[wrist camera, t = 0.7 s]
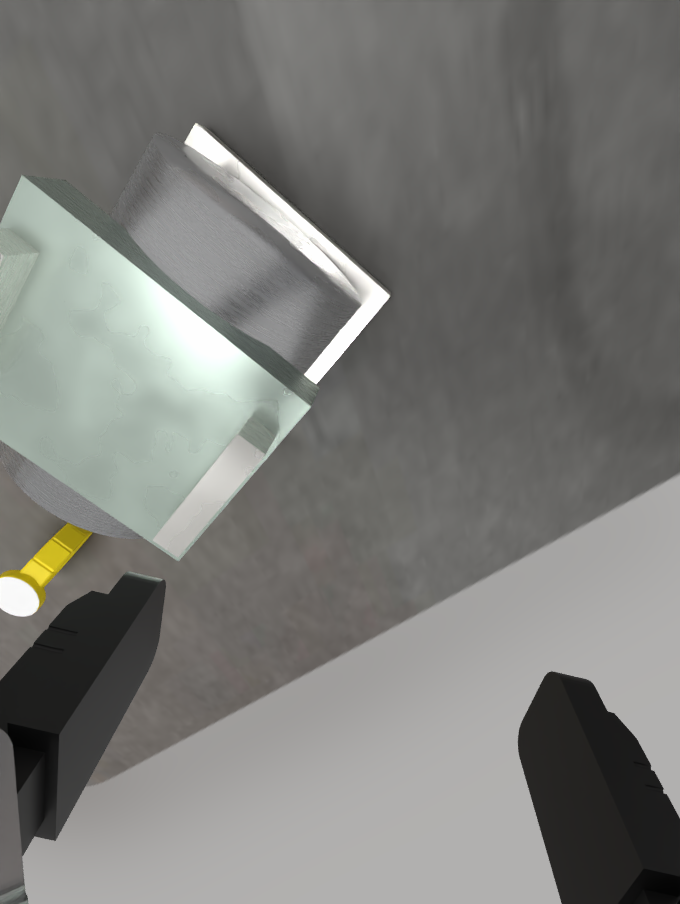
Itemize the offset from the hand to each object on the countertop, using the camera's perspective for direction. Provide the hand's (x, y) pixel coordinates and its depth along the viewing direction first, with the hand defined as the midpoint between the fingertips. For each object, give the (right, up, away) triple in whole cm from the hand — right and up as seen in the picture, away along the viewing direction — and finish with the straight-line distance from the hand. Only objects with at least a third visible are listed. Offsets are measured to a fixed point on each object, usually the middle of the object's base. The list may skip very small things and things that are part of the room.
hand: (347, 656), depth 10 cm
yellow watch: (-18, -1, +23) cm, 29 cm away
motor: (-6, +11, +16) cm, 20 cm away
